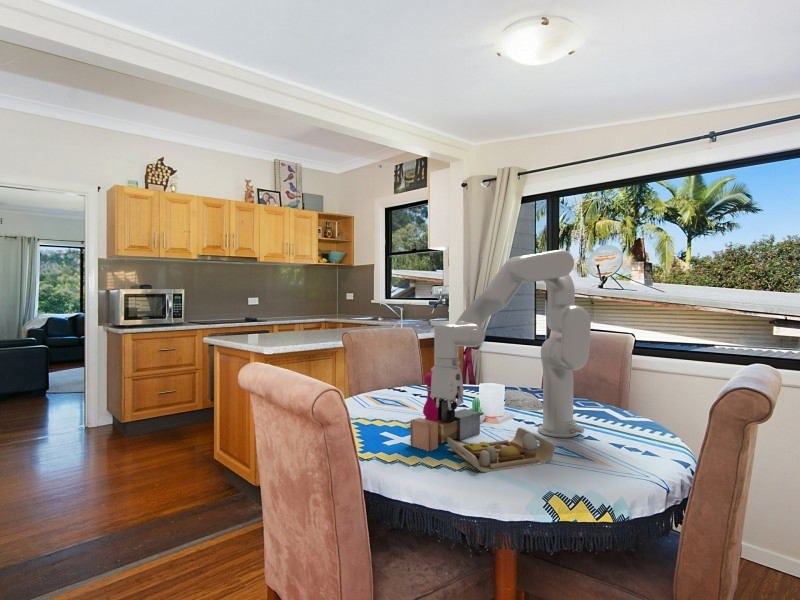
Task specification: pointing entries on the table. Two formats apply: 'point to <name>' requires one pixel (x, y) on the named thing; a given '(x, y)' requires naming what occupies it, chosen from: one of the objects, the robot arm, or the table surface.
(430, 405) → the pepper mill
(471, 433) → the sleeve
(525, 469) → the table surface
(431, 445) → the brown block
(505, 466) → the toy food set
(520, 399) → the grey carved stone
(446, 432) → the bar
